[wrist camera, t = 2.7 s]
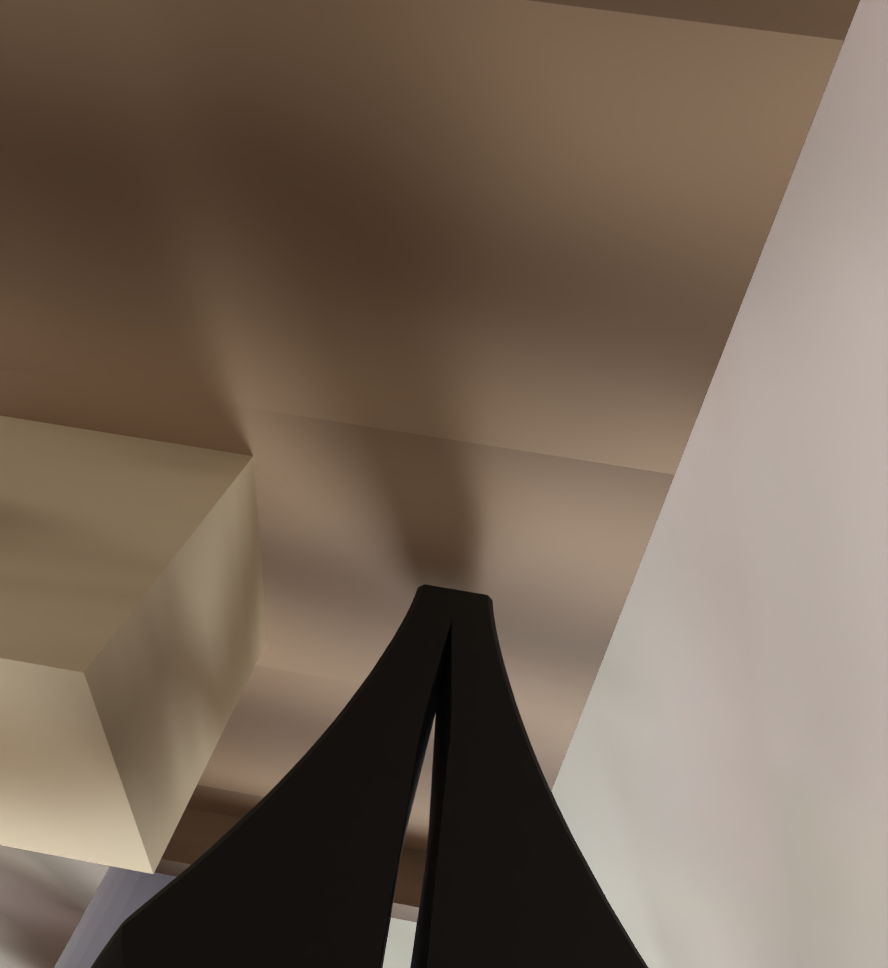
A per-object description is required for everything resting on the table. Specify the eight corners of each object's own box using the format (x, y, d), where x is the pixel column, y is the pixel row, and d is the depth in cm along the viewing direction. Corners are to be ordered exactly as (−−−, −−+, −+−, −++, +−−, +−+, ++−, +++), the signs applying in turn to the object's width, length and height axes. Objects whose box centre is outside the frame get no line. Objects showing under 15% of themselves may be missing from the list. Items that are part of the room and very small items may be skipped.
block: (267, 640, 14) (153, 874, 10) (61, 603, 14) (-140, 818, 10) (253, 456, 11) (84, 672, 7) (-4, 414, 11) (-324, 600, 7)
